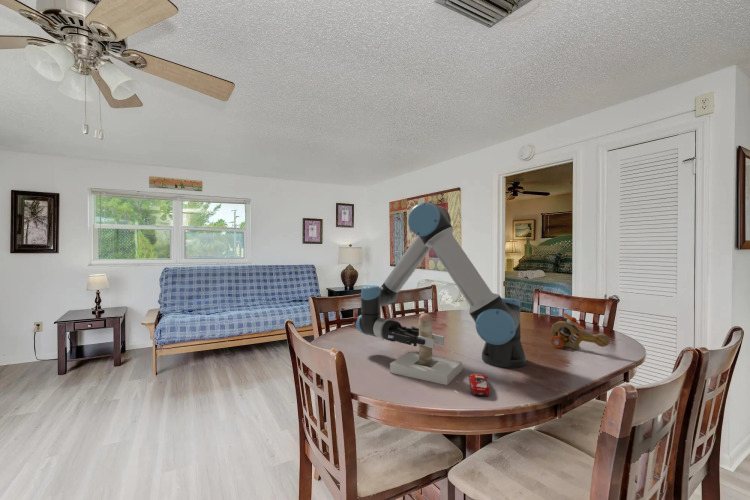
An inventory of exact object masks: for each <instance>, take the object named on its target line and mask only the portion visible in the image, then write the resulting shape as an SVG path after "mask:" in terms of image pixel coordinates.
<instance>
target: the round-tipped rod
mask: <svg viewBox="0 0 750 500" xmlns="http://www.w3.org/2000/svg"><path fill="white" fill-rule="evenodd" d="M418 328H419V336H422V337H426V338H430V339H432V334H433V318H432V316H431V315H430V314H429V313H425V312H424V313H422V314H420V315H419V317H418ZM418 352H419V353H418V354H419V365H422V366H427V367H432V366H433V363H432V356H433V348H430V347H426V346H422V345H419V344H418Z"/></svg>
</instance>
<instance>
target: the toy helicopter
mask: <svg viewBox="0 0 750 500" xmlns="http://www.w3.org/2000/svg"><path fill="white" fill-rule="evenodd" d="M562 316H564V317H566V318H567V319H566V321H565V320H563V321H562V320H561V321H559V320H558V321H557V322H554V323H553V324H552V326H551V329H550V331H551V334H552V335H551V336H552V337H551V338H550V344H551V346H552V347H553V348H555V349H561V348H563V347H566V348H567V347H569V348H571V349H572V350H574V351H575V350H578V349H580V343H582V342H587V343H588V342H589V343H594V344H596V345H597V346H599V347H602V348H604V347H606V346H609V345H610V344H611V338H609V336H608V335H607V334H605V333H601V332H600V333H597V334H594V333H590V332H584V331H581V330H580V329H582V330H585V327H584V326H582V324H581V323H579V321H577V318H576V317H574V316H573V317H572V316H571V315H570V314H568V313H564V312H562Z"/></svg>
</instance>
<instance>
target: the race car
mask: <svg viewBox="0 0 750 500" xmlns="http://www.w3.org/2000/svg"><path fill="white" fill-rule="evenodd" d="M468 377H469V379H468V381H469V386H470V387H469V388H470V392H471V394H472V395H474V396H482V397H484V396H486V397H488V396H490V395H491V393H490V392H491V391H490V385H489V382H488V379H489V377H488V376H486V375H485V374H482V373H471V374H469V376H468Z"/></svg>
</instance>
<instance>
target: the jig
mask: <svg viewBox="0 0 750 500" xmlns="http://www.w3.org/2000/svg"><path fill="white" fill-rule="evenodd" d="M432 363H433V366H432V367H427V366H422V365H419V353H415V352H409V351H408V352H407V353H405V354H403V355H402V356H400V357H398V358H397V359H396V360H394V361H391V362H390V363H389V370H390V371H389V373H390V374H395V375H399V376H403V377H409V378H413V379H418V380H421V381H426V382H430V383H431V382H432V383H436V384H440V385H445V386H448V385H450V383H451V382H452V381H453V380H454V379H455V378H456V377H457V376H458V375H459V374H460V373H461V372H462V370H463V367H462V366H463V363H462V361H460V360H455V359H449V358H442V357H439V356H433V355H432Z"/></svg>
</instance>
